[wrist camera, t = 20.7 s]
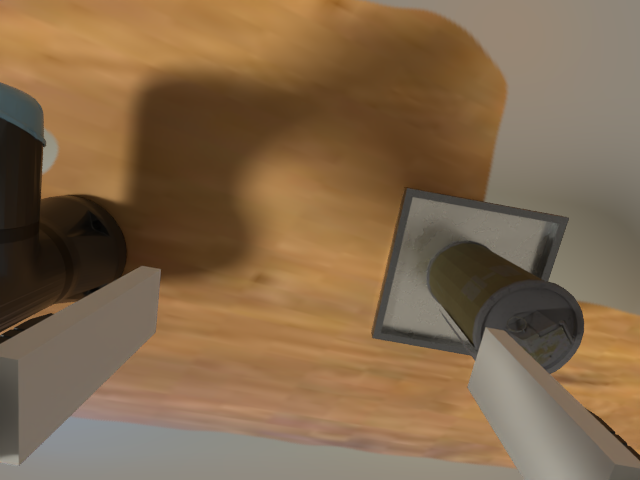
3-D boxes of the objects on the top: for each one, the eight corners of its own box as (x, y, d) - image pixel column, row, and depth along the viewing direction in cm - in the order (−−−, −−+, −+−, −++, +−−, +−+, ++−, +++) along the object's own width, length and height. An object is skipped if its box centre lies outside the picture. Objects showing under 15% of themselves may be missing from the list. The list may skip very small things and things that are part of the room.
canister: (479, 226, 50) (576, 268, 30) (512, 287, 51) (624, 364, 32) (410, 266, 51) (460, 330, 32) (444, 324, 53) (512, 418, 33)
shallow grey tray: (371, 331, 54) (372, 338, 52) (404, 187, 49) (407, 188, 47) (513, 357, 54) (520, 364, 52) (560, 215, 49) (569, 217, 48)
